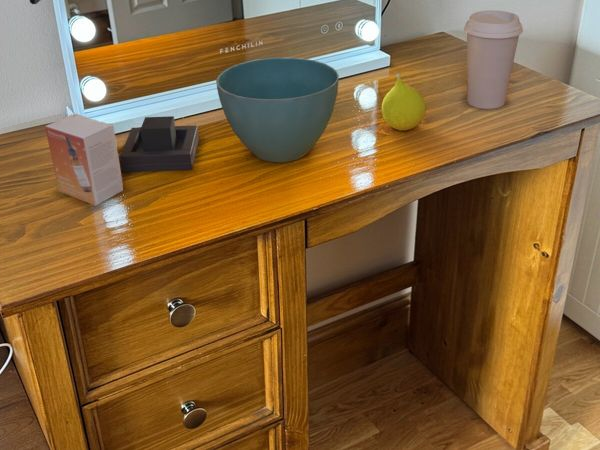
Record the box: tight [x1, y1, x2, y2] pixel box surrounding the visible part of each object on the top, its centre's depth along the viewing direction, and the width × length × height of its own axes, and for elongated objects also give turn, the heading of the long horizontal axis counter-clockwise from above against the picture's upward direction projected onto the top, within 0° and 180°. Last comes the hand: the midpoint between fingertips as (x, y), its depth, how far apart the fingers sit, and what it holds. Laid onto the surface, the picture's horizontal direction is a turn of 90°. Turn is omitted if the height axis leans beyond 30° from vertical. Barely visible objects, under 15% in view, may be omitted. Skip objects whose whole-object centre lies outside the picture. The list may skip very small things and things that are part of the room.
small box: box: [44, 112, 124, 207], centre depth 108 cm, size 8×6×10 cm
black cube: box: [140, 115, 177, 151], centre depth 118 cm, size 4×4×4 cm
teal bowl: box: [215, 57, 340, 163], centre depth 117 cm, size 18×18×12 cm
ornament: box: [380, 66, 427, 131], centre depth 124 cm, size 7×7×10 cm
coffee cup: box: [463, 10, 524, 110], centre depth 131 cm, size 10×10×15 cm
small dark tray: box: [119, 124, 200, 173], centre depth 119 cm, size 11×11×3 cm
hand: (1, 2), depth 104 cm, fingers open, 9 cm apart
